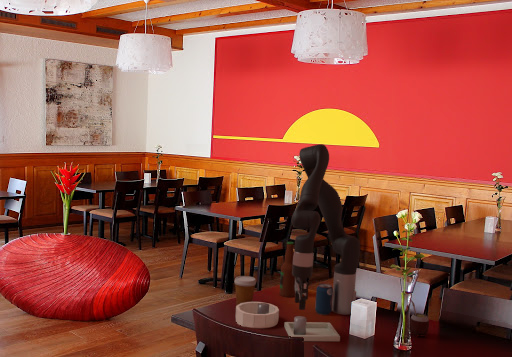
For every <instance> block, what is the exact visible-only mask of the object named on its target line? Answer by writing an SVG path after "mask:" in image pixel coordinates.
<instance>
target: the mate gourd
mask: <svg viewBox="0 0 512 357" xmlns="http://www.w3.org/2000/svg"><path fill="white" fill-rule="evenodd" d="M410 300H411V301H410V302H411V304H412V307H413V312H414V313H413V314H412V315H411V317H410V320H409V324H410V327H409V328H410V332H411V333H414V334H416V335H415V336H417V335H426V336H427V334H428V331H429V326H430V320H429V317H428V316H427V314H424V313H421V312H420V313H419V312H416V311H417V310H416V307H415V306H416V305H415V302H414V301H413V300H412V299H410ZM411 333H410V334H411Z"/></svg>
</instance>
